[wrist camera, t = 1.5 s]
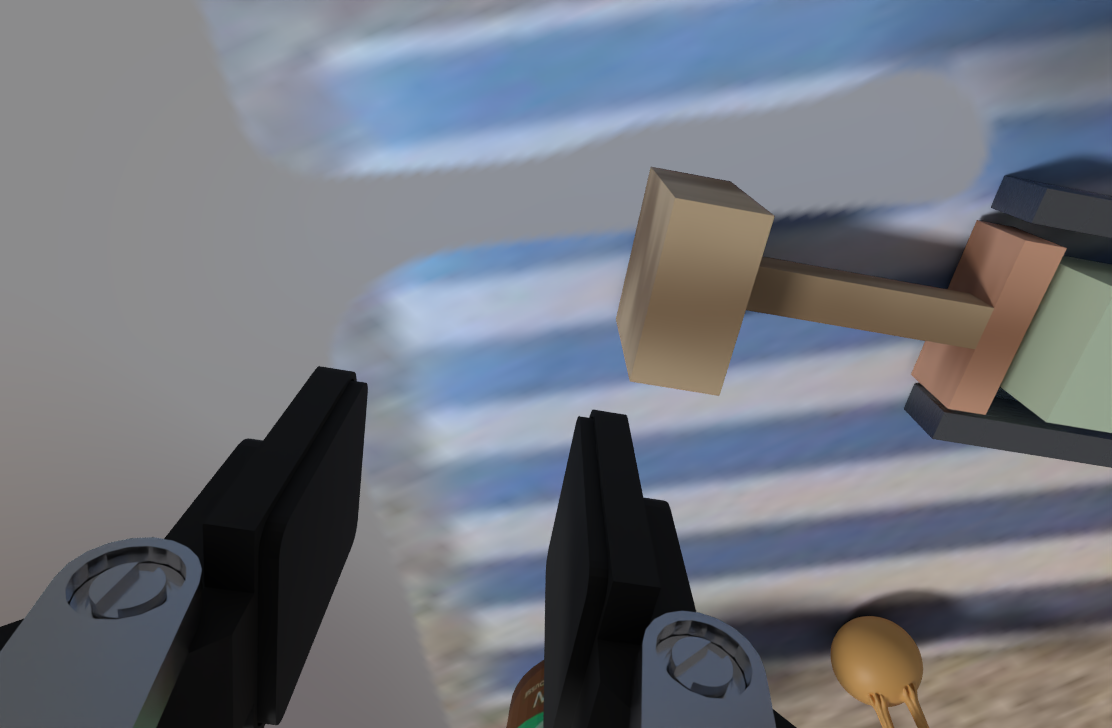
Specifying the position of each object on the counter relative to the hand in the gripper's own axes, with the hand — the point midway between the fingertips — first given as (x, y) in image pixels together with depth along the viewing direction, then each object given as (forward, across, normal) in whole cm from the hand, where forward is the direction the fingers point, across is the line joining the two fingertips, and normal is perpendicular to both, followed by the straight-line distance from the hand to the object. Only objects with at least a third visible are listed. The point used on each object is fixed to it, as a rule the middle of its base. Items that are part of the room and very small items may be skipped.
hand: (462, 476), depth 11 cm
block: (+17, -22, 0) cm, 28 cm away
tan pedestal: (+17, -11, 0) cm, 20 cm away
